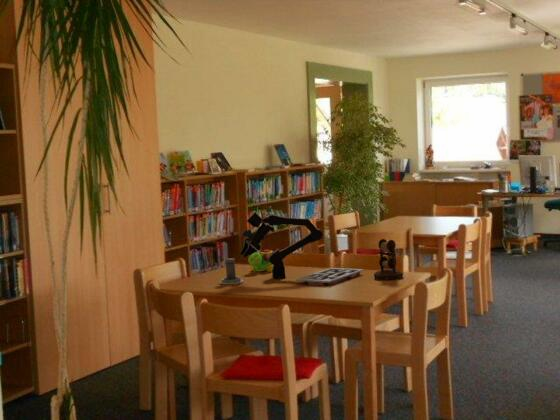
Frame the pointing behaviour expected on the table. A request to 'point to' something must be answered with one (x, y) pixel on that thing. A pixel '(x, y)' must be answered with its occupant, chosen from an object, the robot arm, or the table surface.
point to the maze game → (330, 276)
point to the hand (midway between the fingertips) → (242, 255)
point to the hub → (231, 281)
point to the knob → (230, 268)
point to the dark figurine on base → (387, 260)
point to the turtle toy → (261, 261)
